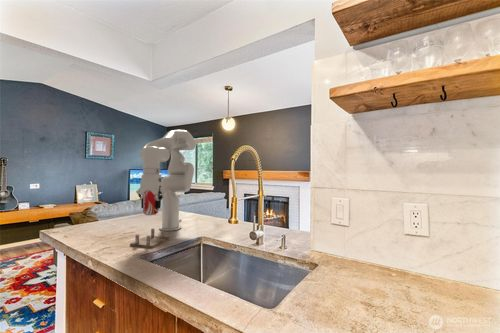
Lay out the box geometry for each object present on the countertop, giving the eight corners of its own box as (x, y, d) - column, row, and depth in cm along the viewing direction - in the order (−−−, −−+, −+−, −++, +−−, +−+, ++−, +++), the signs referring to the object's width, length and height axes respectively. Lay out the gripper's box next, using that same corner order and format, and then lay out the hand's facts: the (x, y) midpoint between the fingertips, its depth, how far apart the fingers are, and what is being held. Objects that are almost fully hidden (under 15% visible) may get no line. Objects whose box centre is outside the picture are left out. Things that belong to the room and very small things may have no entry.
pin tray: (149, 237, 130) (149, 227, 130) (169, 239, 127) (169, 229, 127) (129, 246, 116) (130, 234, 116) (152, 248, 113) (152, 237, 113)
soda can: (153, 216, 117) (153, 190, 117) (139, 215, 119) (140, 190, 119) (161, 213, 124) (161, 189, 124) (148, 212, 125) (148, 189, 125)
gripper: (171, 172, 123) (170, 207, 123) (141, 171, 127) (140, 206, 127) (162, 172, 116) (162, 210, 116) (130, 171, 120) (130, 208, 120)
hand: (150, 207), depth 121 cm, fingers closed on soda can, 7 cm apart
